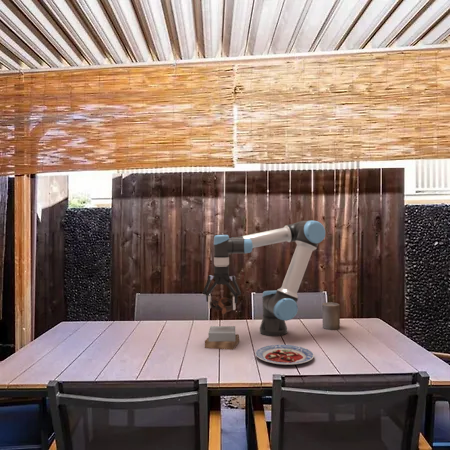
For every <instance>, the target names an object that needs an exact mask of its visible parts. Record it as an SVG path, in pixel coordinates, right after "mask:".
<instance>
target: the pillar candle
mask: <svg viewBox="0 0 450 450" xmlns="http://www.w3.org/2000/svg"><path fill="white" fill-rule="evenodd" d="M321 307H322V308H321V310H322V311H321V312H322V329H325V330H330V331H333V330H334V331H335V330H336V331H337V330H340V329H341V319H340V318H341V313H340V312H341V311H340V310H341V309H340V303H337V302H332V301H330V302H323V303H322V304H321Z"/></svg>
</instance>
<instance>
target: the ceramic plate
mask: <svg viewBox="0 0 450 450" xmlns="http://www.w3.org/2000/svg"><path fill="white" fill-rule="evenodd" d="M254 353H255V356H256V358H258V359H260V360H261V361H263V362H267V363H271V364H274V365H275V364H276V365H283V366H284V365H290V366H291V365H299V364H300V365H301V364H305V363H307V362H310V361H311V360H313V358H314V357H315V354H314V352H313V351H311V350H310V349H308V348H305V347H302V346H298V345H291V344H272V345H265V346H262V347H260V348H258V349H257V350H255V352H254Z"/></svg>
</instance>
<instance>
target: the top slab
mask: <svg viewBox="0 0 450 450" xmlns="http://www.w3.org/2000/svg"><path fill="white" fill-rule="evenodd" d="M207 333H208V337H209V341H235V334H236V325H233V326H232V325H219V326H218V325H217V326H215V325H214V326H213V325H211V326H209V330H208V332H207ZM208 337H207V338H208Z"/></svg>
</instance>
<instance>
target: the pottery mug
mask: <svg viewBox="0 0 450 450" xmlns="http://www.w3.org/2000/svg"><path fill="white" fill-rule="evenodd" d="M227 302H229V304H231V305H225V304H226V303H227ZM210 305H211V308H212V309H214V311H215V312H219V311H221V314H223V315H225V314H227V313H229V312H231V311H234V310H233V299H232V298H229V297H222V298H220V299H219V300H216V299H215V300H211V303H210Z"/></svg>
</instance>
